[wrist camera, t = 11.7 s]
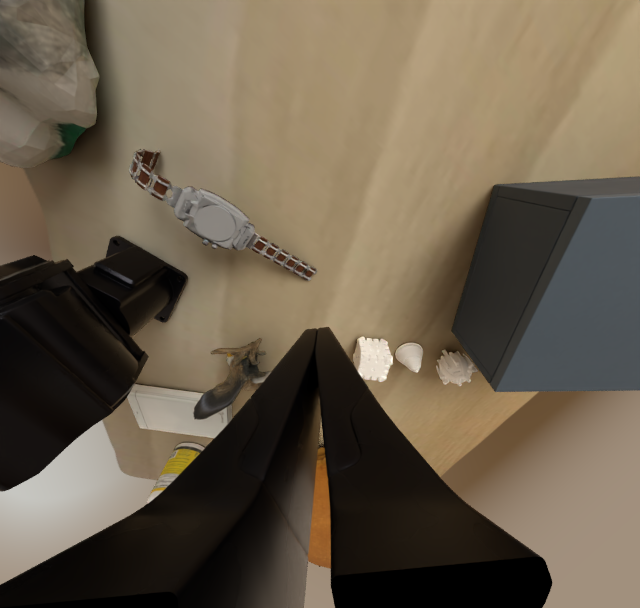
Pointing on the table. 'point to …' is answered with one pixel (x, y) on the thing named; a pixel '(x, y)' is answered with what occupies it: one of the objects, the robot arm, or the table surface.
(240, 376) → the eagle figurine
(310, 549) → the pancake
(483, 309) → the bin
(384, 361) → the game pieces
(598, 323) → the bin lid
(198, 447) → the supplement bottle
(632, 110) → the table surface
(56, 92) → the toy
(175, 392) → the hard drive
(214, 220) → the wristwatch
